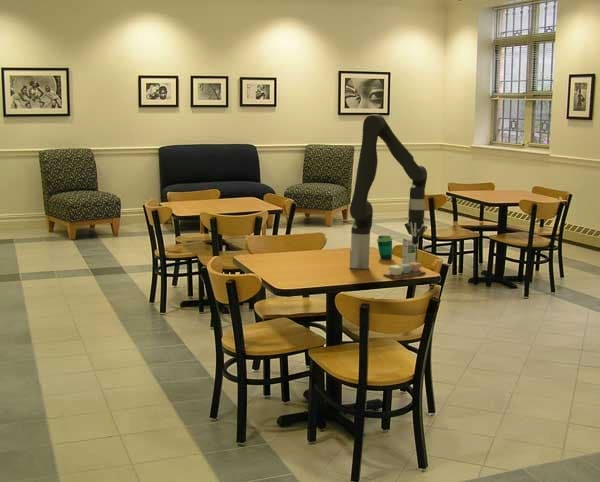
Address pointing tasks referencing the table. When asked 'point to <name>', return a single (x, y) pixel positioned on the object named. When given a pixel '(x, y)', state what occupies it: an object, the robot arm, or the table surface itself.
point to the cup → (385, 247)
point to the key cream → (395, 270)
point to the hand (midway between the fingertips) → (415, 244)
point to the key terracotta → (415, 266)
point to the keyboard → (405, 275)
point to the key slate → (406, 268)
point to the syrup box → (409, 251)
